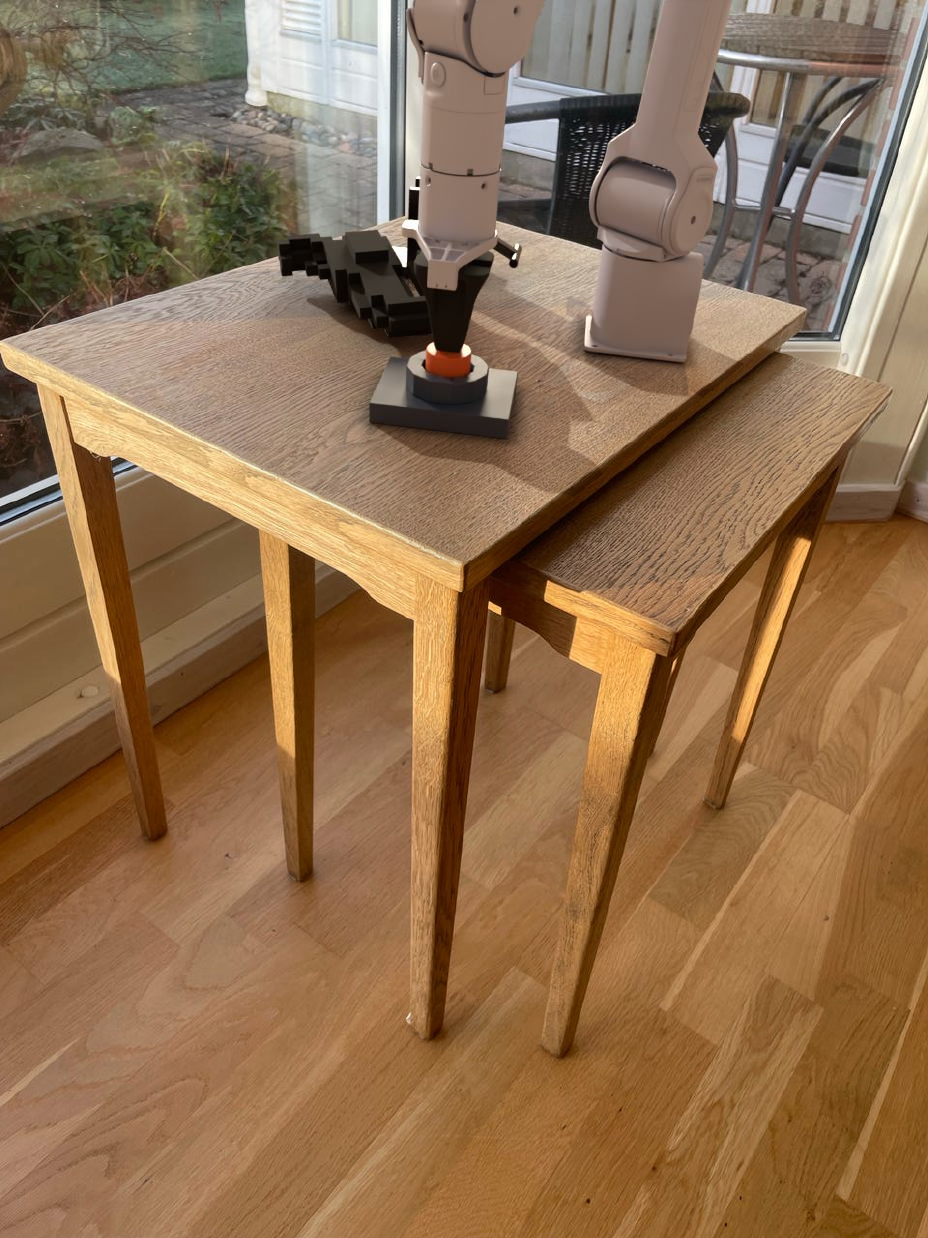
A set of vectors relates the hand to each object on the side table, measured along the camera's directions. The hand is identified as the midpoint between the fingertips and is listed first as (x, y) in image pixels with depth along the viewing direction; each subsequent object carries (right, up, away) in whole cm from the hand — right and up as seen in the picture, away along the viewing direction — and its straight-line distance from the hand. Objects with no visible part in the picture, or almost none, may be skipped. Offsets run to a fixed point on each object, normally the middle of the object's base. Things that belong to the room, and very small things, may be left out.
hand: (448, 348), depth 78 cm
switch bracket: (-2, +16, +28) cm, 32 cm away
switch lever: (+1, +18, +25) cm, 31 cm away
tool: (-8, +9, +18) cm, 21 cm away
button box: (0, -4, +3) cm, 5 cm away
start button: (0, -1, +1) cm, 2 cm away
